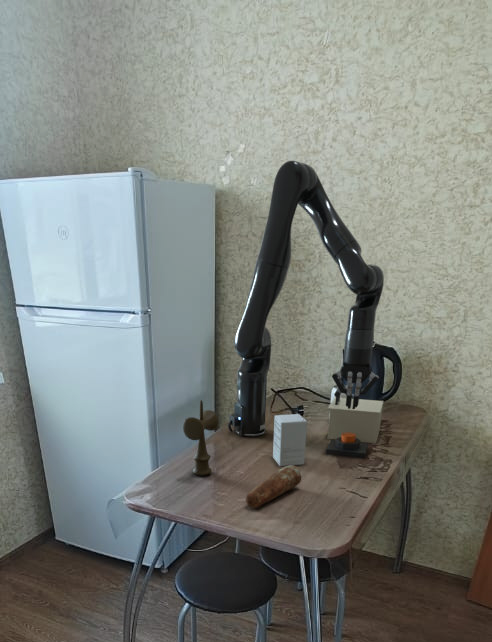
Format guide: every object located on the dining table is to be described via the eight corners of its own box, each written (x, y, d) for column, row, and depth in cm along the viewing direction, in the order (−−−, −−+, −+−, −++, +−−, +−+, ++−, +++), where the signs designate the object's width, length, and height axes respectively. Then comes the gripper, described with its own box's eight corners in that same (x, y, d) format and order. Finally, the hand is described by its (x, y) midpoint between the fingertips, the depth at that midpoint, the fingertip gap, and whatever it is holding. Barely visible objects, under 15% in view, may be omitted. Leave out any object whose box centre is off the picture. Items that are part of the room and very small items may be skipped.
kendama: (183, 477, 153) (181, 403, 143) (201, 466, 160) (200, 394, 151) (202, 481, 150) (202, 406, 141) (220, 469, 157) (220, 397, 148)
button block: (325, 454, 168) (326, 443, 166) (330, 444, 175) (331, 433, 174) (364, 458, 165) (365, 446, 163) (367, 448, 172) (368, 437, 171)
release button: (340, 442, 167) (340, 435, 167) (342, 438, 171) (342, 431, 170) (354, 444, 166) (355, 437, 165) (355, 439, 170) (356, 433, 169)
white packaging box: (296, 456, 167) (299, 413, 161) (304, 465, 160) (308, 420, 154) (272, 457, 166) (274, 414, 160) (278, 466, 159) (281, 422, 153)
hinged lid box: (327, 438, 181) (330, 410, 177) (333, 426, 192) (336, 400, 188) (375, 443, 176) (379, 415, 172) (379, 430, 188) (383, 403, 184)
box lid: (327, 410, 177) (328, 394, 175) (334, 399, 188) (335, 384, 186) (379, 415, 172) (381, 398, 170) (383, 403, 184) (385, 387, 181)
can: (325, 420, 198) (328, 385, 193) (340, 418, 201) (344, 383, 195) (336, 425, 193) (339, 389, 188) (352, 423, 195) (356, 387, 190)
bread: (302, 487, 146) (304, 467, 143) (258, 512, 133) (259, 490, 130) (281, 481, 150) (282, 461, 147) (236, 505, 137) (237, 483, 134)
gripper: (331, 346, 155) (325, 409, 163) (383, 349, 151) (374, 413, 159) (335, 342, 161) (330, 403, 169) (385, 344, 157) (377, 407, 165)
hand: (351, 408), depth 164 cm, fingers closed
